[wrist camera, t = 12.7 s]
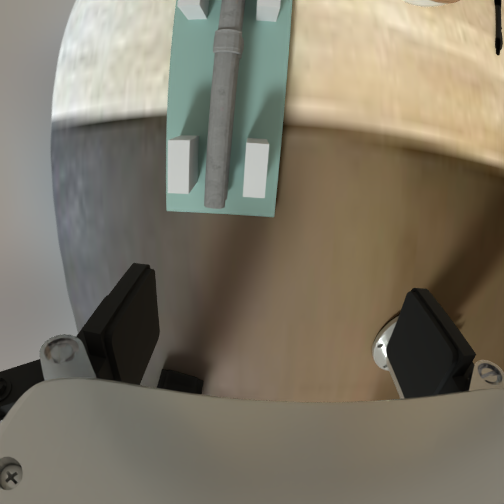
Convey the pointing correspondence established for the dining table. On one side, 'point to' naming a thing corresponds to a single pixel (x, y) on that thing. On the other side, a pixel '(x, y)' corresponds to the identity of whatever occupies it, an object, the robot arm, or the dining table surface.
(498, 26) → the pen
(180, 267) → the dining table surface
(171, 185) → the jaw cradle
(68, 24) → the dining table surface
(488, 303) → the dining table surface
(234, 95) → the metal rod assembly
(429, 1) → the lidded jar
